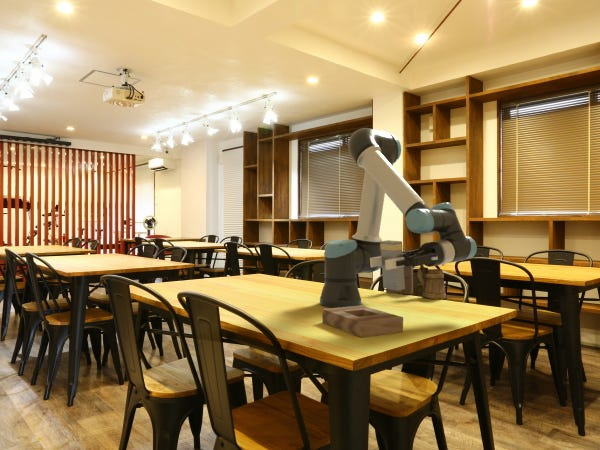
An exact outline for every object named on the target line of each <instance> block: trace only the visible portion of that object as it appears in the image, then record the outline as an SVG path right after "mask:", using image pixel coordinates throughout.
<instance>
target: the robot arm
mask: <svg viewBox="0 0 600 450" xmlns="http://www.w3.org/2000/svg"><path fill="white" fill-rule="evenodd" d="M347 147H348V148H347V149H348V152H349V156H351V158H352V160H353V161H354V162H355V163H356V165H357V166H358V167H359V168H363V169H364V175H363V176H364V177H363V184H362V190H361V191H362V192H361V197H360V206H359V213H358V221H357V228H356V232H355V234H353V235H352V236H351V239H340V240H339V239H338V240H331V241H328V242H327V243H326V244H325V246H324V253H323V257H324V285H323V287H322V290H321V294H320V297H319V304H320V305H321V306H323V307H328V308H340V307H350V306H361V305H362V297H361V294H360V290H359V287H358V283H357V274H364V273H366V274H369V273H373V272H376V271H379V270H380V269H381V268H382V258H381V247H380V244H381V243H380V241H383V239H382V238H381V236H380V229H381V223H382V215H383V209H384V204H385V203H384V202H385V196H387V197H389V199H390V200H391V201H392V203H393V204H394V206H396V208H397V209H398V210H399V211H400V212H401V213H402V214H403V216H404V217H405V223H406V227H407V229H408V230H409V231H410V232H412V233H414V234H415V233H416V234H420V235H424V234H438V237H439V239H440V240H435V241H429V242H428V241H427V242H424V243H423V244H421V245H420V247H419V248H417V249H412V250H407V249H406V250H403V257H400V258H394V259H389V260H385V267H386V270H390V269H395V268H400V267H405V266H407V267H408V266H411V265H412V267H413V268H415V267H420V265H423V266H424V267H425V266H426V267H427V268H430V267H436V266H439V265H441V266H442V267H445V266H446V265H445V264H451V263H456V262H463V261H465V260H468V259H469V260H470V259H471V258H473V257H474V256H475V255H476V254H477V252H478V251H477V249H478V248H477V243H476V241H475V239H473V237H471V236H467V235H466V234H465V232H464V231H463V228H462V226H461V223H460V221H459V219H458V216H457V212H456V210H455V209H454V207H453V205H452V203H451V202H441V203H438V204H436V205H433V206H432V207H431V208H430V207H429V206H428V204H427V203H426V202H425V201H424V200H423V199H422V198H421V196H419V194H418V193H417V192H416V191H415V190H414V189H413V188H412V186H411V185H410V184H409V183H408V182H407V181H406V180H405V179H404V178H403V177H404V176H403V177H402V175H401V174H400V173H399V172H398V171H397V170H396V168H395V167H394V164H395V163H396V162H397V161H398V160H399V158H400V157H401V154H402V145H401V142H400V139H398V137H397V136H396V135H395V134H393V133H390V132H389V131H383V130H378V129H373V128H369V127H362V128H359V129H357V130H355V131H354V132H353V133H352V134H351V136H350V137H349V139H348V142H347Z"/></svg>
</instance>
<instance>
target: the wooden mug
mask: <svg viewBox="0 0 600 450" xmlns="http://www.w3.org/2000/svg"><path fill="white" fill-rule="evenodd" d="M423 274H424V277H425V279H423ZM416 276H417V279H418V281H419V283H420V284H421V286H422V289H423V290H422V291H423V292H422V297H423V298H424V299H429V300H444V299H447V294H446V289H445V288H446V287H445V281H444V278H445V274H444V271H443V269H442V268H441V269H440V268H431V269H429V267H427V266H426V267H425V265H420V266H419V268H418V270H417V273H416Z"/></svg>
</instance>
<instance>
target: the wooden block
mask: <svg viewBox="0 0 600 450" xmlns="http://www.w3.org/2000/svg"><path fill="white" fill-rule="evenodd" d="M404 283H405V289H403V290H398V291H396V290H391V289H387V288H385V292H386V293H387V294H398V295H409V296H410V295H413V294H414V267H412V265H411V266H408V267H407V266H406V265H405V267H404Z"/></svg>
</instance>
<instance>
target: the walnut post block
mask: <svg viewBox="0 0 600 450" xmlns="http://www.w3.org/2000/svg"><path fill="white" fill-rule="evenodd" d="M321 312H322V316H321V317H322V318H321V319H322V324H325V325H327V326H331V327H334V328H335V329H338V330H341V331H343V332H346V333H348V334H351V335H354V336H356V337H358V338H366V337H368V338H369V337H374V336H382V335H388V334H389V335H390V334H397V333H403V332H404V317H403V316H400V315H397V314H394V313H390V312H387V311H383V310H379V309H376V308H371V307H368V306H365V305H362V304H361V305H360V306H350V307H329V308H323V309H322V311H321Z"/></svg>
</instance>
